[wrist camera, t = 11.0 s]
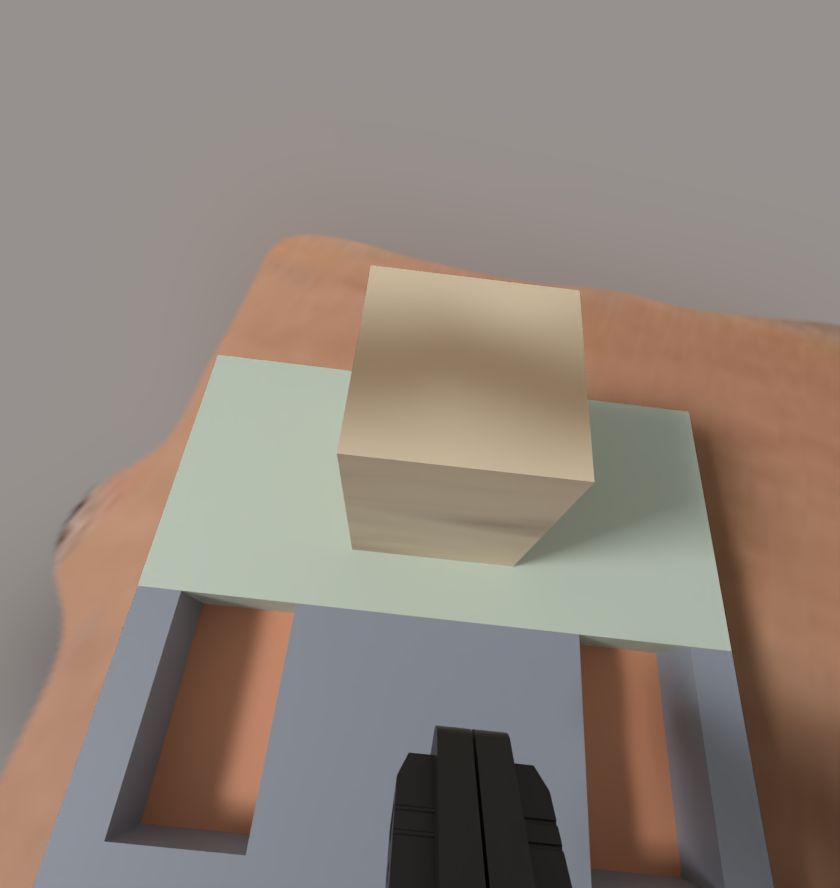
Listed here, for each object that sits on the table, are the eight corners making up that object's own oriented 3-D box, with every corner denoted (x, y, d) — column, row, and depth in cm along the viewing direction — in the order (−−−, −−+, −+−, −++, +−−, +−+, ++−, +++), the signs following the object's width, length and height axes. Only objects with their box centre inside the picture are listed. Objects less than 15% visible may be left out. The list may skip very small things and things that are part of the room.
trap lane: (235, 392, 25) (218, 354, 22) (656, 442, 25) (688, 411, 23) (-36, 1251, 13) (-144, 1394, 10) (778, 1316, 13) (877, 1469, 11)
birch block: (373, 410, 22) (371, 265, 14) (513, 426, 22) (579, 290, 15) (352, 549, 19) (337, 453, 12) (513, 566, 19) (594, 481, 12)
